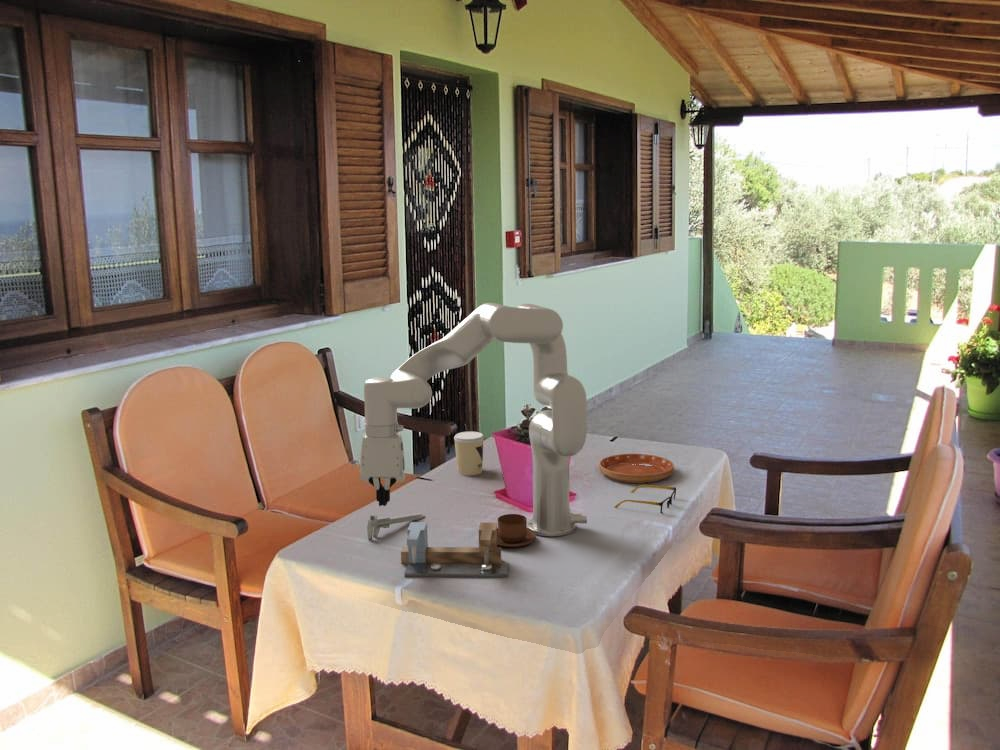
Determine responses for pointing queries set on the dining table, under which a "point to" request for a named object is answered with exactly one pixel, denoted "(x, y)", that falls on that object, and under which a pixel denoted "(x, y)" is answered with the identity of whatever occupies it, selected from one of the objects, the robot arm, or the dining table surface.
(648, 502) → the eyeglasses
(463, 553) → the beam
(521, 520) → the cup and saucer
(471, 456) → the coffee cup
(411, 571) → the bolt plate
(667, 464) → the saucer
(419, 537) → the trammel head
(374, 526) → the caliper
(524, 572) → the dining table surface
